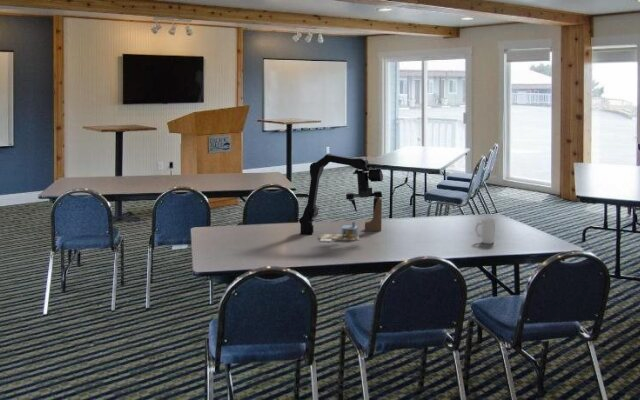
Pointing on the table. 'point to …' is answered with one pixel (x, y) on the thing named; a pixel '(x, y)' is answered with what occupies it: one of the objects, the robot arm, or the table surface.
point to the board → (336, 237)
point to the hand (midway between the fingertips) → (365, 211)
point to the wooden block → (375, 218)
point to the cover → (349, 227)
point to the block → (349, 233)
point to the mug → (486, 230)
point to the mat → (325, 240)
